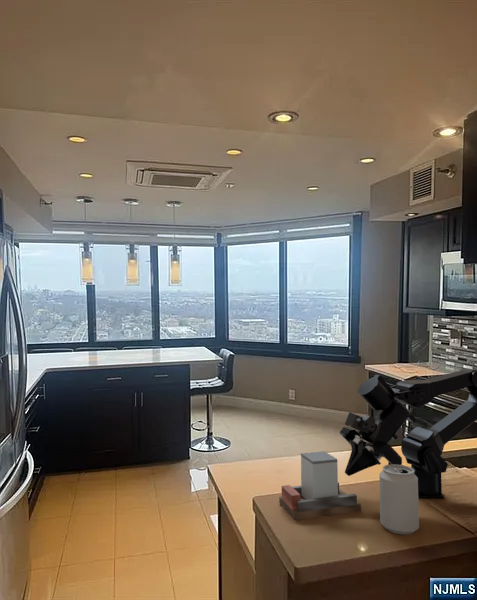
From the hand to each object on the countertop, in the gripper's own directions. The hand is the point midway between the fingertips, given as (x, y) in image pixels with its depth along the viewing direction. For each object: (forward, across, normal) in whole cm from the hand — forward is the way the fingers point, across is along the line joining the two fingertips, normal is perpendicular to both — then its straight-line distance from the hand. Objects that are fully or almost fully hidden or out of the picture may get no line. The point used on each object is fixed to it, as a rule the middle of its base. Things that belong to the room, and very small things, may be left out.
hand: (346, 474), depth 102 cm
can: (+2, +14, +8) cm, 16 cm away
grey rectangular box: (+8, 0, -2) cm, 9 cm away
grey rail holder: (+10, 0, 0) cm, 10 cm away
